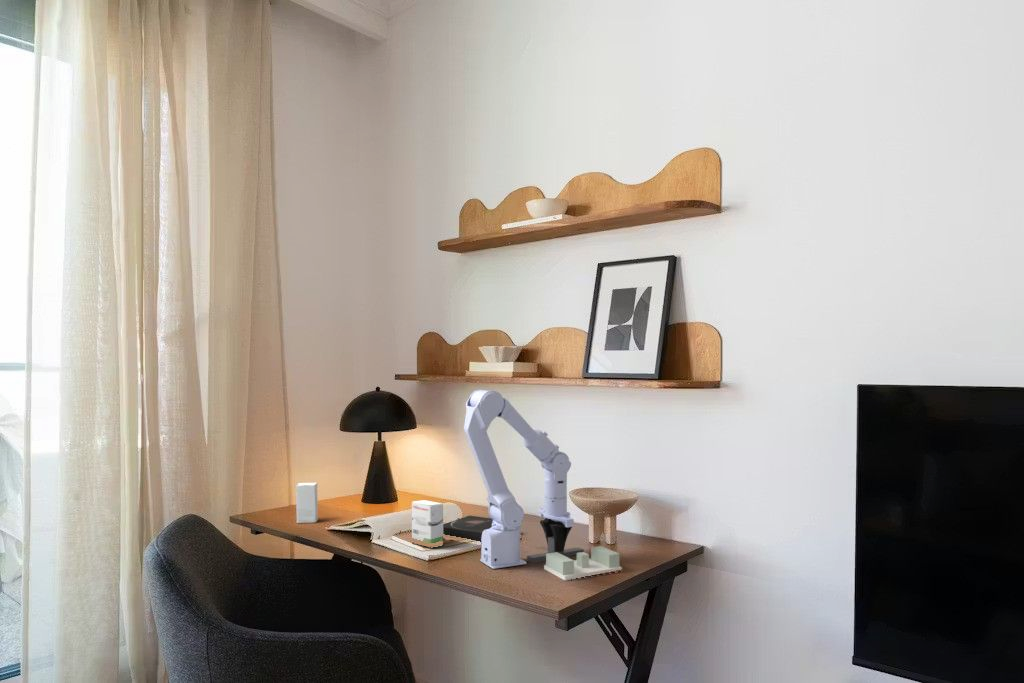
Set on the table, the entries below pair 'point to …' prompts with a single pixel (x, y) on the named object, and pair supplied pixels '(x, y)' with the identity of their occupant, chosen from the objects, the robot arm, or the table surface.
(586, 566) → the stand
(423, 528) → the ink box
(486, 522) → the portable cd player
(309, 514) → the skincare box
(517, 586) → the table surface
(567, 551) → the grey inverted t block
